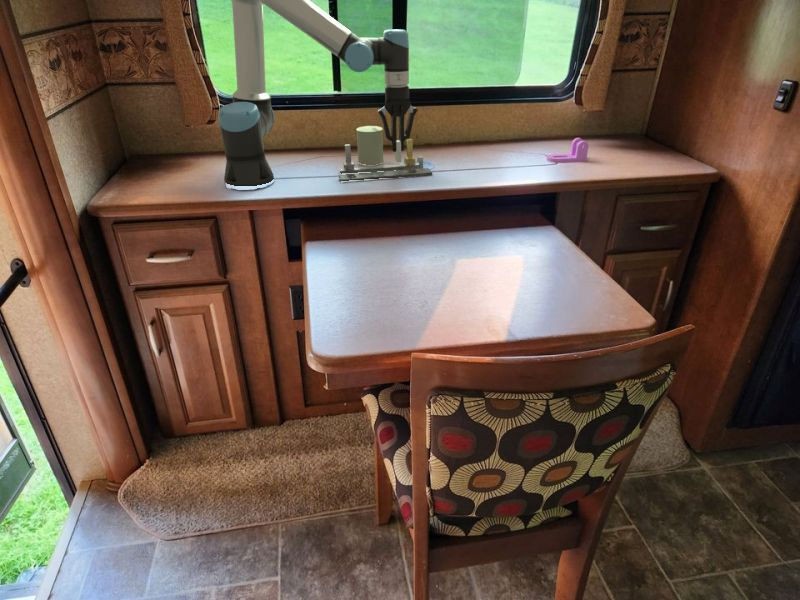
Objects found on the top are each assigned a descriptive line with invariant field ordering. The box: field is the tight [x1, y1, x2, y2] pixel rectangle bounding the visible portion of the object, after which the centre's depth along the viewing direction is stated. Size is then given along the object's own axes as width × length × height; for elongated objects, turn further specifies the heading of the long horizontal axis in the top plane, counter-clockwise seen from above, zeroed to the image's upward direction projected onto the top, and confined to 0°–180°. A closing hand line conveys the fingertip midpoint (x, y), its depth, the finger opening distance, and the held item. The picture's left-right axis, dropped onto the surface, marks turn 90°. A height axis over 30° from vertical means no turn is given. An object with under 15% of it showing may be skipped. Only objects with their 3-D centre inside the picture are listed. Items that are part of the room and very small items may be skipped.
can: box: [355, 125, 385, 166], centre depth 180 cm, size 9×9×12 cm
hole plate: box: [338, 167, 433, 181], centre depth 168 cm, size 30×5×1 cm, turn 103°
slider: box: [403, 138, 416, 165], centre depth 173 cm, size 3×3×8 cm
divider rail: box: [339, 143, 424, 174], centre depth 172 cm, size 28×3×9 cm, turn 103°
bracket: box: [546, 137, 589, 164], centre depth 181 cm, size 13×6×7 cm, turn 96°
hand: (398, 160), depth 173 cm, fingers closed
